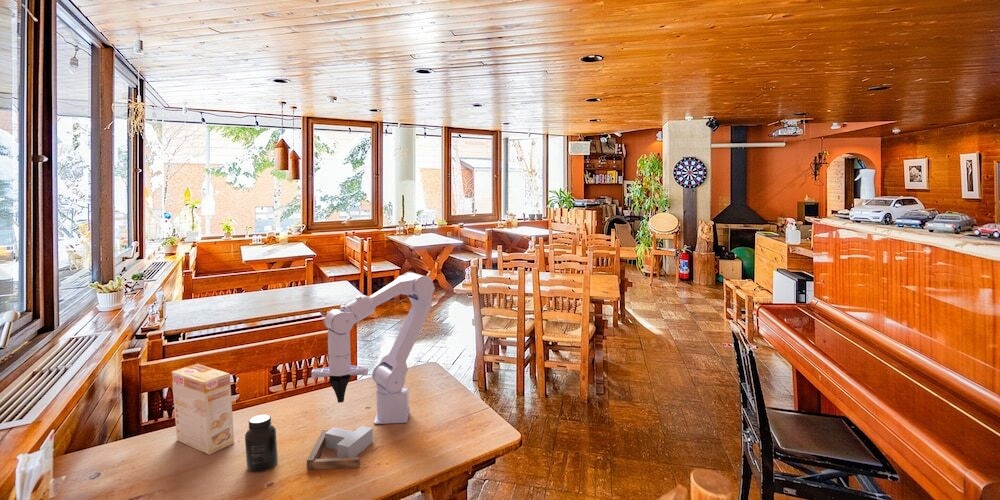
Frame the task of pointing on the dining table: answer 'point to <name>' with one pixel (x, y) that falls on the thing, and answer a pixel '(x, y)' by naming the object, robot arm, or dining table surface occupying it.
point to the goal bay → (328, 463)
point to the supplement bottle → (261, 444)
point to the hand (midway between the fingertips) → (341, 400)
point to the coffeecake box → (203, 408)
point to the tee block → (348, 441)
